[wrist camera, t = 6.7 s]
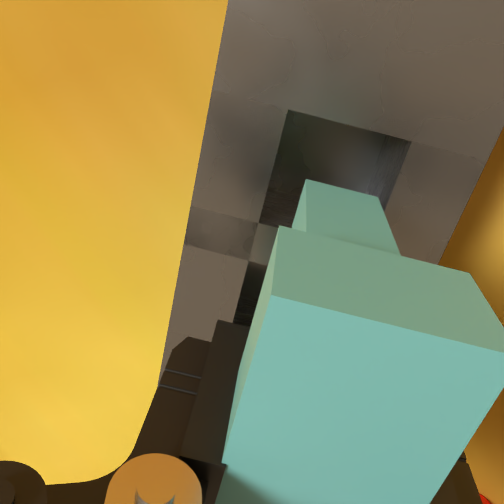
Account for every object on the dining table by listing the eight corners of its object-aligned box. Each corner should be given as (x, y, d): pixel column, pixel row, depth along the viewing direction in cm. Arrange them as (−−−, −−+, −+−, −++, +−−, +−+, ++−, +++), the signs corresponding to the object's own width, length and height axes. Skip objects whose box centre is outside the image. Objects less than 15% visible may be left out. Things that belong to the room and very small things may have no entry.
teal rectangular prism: (288, 148, 11) (271, 294, 5) (410, 180, 11) (522, 357, 6) (222, 394, 15) (170, 636, 9) (315, 417, 15) (321, 672, 9)
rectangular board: (271, -124, 14) (259, -168, 11) (528, -56, 14) (600, -77, 11) (172, 372, 23) (148, 436, 20) (329, 411, 24) (333, 483, 20)
